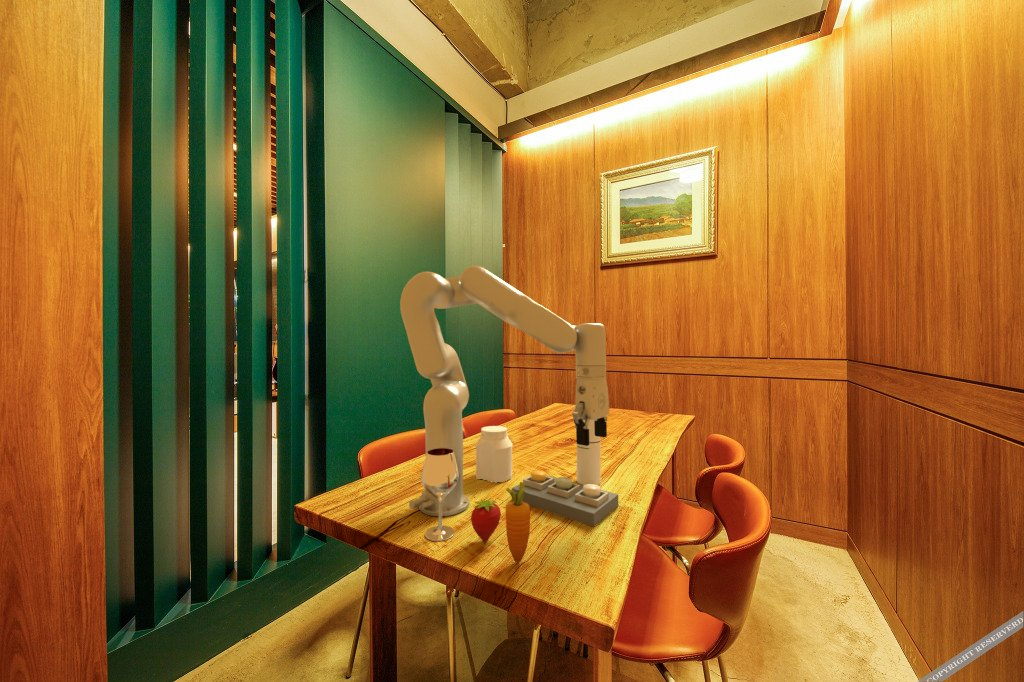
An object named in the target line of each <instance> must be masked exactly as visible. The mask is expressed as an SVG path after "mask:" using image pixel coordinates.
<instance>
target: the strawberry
mask: <svg viewBox="0 0 1024 682" xmlns="http://www.w3.org/2000/svg"><path fill="white" fill-rule="evenodd" d="M489 496H490V495H489V494H488V495H487V496H486V497H485V498H484V500H482V499H481V500H480V501H474V503H476V504H478V505H475V506H474V509H473V510H472V512H471V516H470V521H471V525H472V528H473V530H474V532H475V533H476V535H477V536H478V537H479V538H480V539H481V541H482V542H483V543H487V542H488V541H489V540H490V538H491V536H492V535H493V534H494V533H495V530H496V529H497V528H498V526H499V524H500V520H501V516H502V513H501V512H502V511H501V508H500V506H499V505H498V504H496V503H497V501H496V500H495V501H493V500H491V498H488V497H489ZM487 498H488V499H487ZM486 499H487V500H486Z"/></svg>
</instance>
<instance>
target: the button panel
mask: <svg viewBox="0 0 1024 682" xmlns="http://www.w3.org/2000/svg"><path fill="white" fill-rule="evenodd" d="M556 478H557V477H555V476H550V475H547V474H546V480H545V481H543V482H536V481H533V480H531V475H530V476H528V477H526V478H523V479H522V482H523V483H524V489H525V492H524V494H523V498H522V501H523V502H525V503H527V504H528V505H529V507H533V508H536V507H537V509H539V508H540V510H542V511H545V512H548V513H550V514H554V515H556V516H560V517H563V518H566V519H569V520H571V521H572V520H573V521H575V522H579V523H581V524H585V525H587V526H589V527H593V528H594V527H595V525H596V524H600V523H601V521H603V520H604V519H605V518H606V517H607V516H608V515H610V514H611V513H612V512H613V511H614V510H615V509H617V508H618V507H619V494H617V493H614V492H610V491H607V490H603V489H600V496H598V497H589V496H586V495H584V494H583V486H584V485H582V484H580V483H578V482H573V481H572V487H571V488H569V489H561V488H558V487H556ZM519 486H520V483H519V484H518V485H515V486H513V487H511V490H513V491H514V493H517V498H518V494H519ZM616 507H617V508H616ZM612 510H613V511H612ZM611 511H612V512H611ZM610 512H611V513H610ZM609 513H610V514H609ZM604 517H605V518H604ZM603 518H604V519H603ZM602 519H603V520H602ZM596 526H597V525H596Z"/></svg>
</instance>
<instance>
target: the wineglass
mask: <svg viewBox="0 0 1024 682" xmlns="http://www.w3.org/2000/svg"><path fill="white" fill-rule="evenodd" d="M420 477H421V478H420V482H421V485H422V486H423V488H424V490H425V489H426V490H427V491H428V492H429V493H430V494H431V495H433V496H434V497H435V498H436V499H437V500H438V516H437V519H438V521H437V522H438V523H437V525H435V526H432V527H430V528H428V529H427V530H425V533H424V537H425V538H426V539H427V540H428V541H431V542H444V541H446V540H449V539H451V538H452V537H453V536H454V535H455V529H454V528H453V527H451V526H449V525H443V516H442V501H443V499H444V498H445V496H447V495H448V494H449V493H450V492H451V491H452V490H453V489H454V488H455V486H456V485H457V483H458V480H459V471H458V466H457V462H456V458H455V455H454V451H453V450H452V449H448V448H437V449H432V450H429V451H428V452H427V455H426V454H425V458H424V463H423V467H422V471H421V475H420Z"/></svg>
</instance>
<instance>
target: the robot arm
mask: <svg viewBox="0 0 1024 682" xmlns="http://www.w3.org/2000/svg"><path fill="white" fill-rule="evenodd" d="M399 303H400V304H399V305H400V307H399V308H400V314H401V317H402V318H401V319H402V322H403V325H404V328H405V331H406V337H407V339H408V340H407V341H408V343H409V346H410V350H411V353H412V357H413V360H414V364H415V368H416V370H417V372H418V373H419V374H420V376H421V377H423V378H425V379H428V380H430V382H431V385H432V387H431V388H430V389H428V391H427V393H426V394H425V395H424V396H425V397H424V400H423V418H424V428H425V432H424V433H425V434H424V435H425V456H426V455H427V452H428V451H429V450H432V449H437V448H448V449H452V450H453V451H454V455H455V458H456V462H457V466H458V471H459V480H458V483H457V485H456V486H455V488H454V489H453V490H452V491H451V492H450V493H449V494H448V495H447V496H445V498H444V499H443V501H442V517H448V516H454V515H457V514H460V513H462V512H464V511H465V510H467V509H468V507H469V505H470V499H469V497H468V496H467V495H466V494H464V488H463V487H464V427H463V425H464V424H463V411H464V409H465V408H466V407H467V406H468V405H467V404H468V403H469V398H470V392H469V388H468V385H467V381H466V377H465V374H464V371H463V368H462V364H461V362H460V359H459V356H458V353H457V352H456V350H455V349H454V348H453V346H451V345H449V344H448V343H445V340H444V337H443V334H442V330H441V325H440V324H439V321H438V319H437V316H436V313H435V309H437V310H438V309H439V310H440V309H441V310H444V309H450V308H457V307H462V306H469V305H475V304H478V305H479V306H481V307H482V308H484V309H485V310H486V311H488V312H490V313H491V314H493V315H494V316H496V317H497V318H499V319H501V320H502V321H503V322H504V323H506V324H507V325H510V326H512V327H514V328H517V329H519V330H520V331H522V332H523V333H525V334H527V335H528V336H531V338H533V339H535V340H536V341H537V342H539V343H540V344H542V345H544V346H545V347H546V348H548V349H549V350H550V351H552V352H554V353H557V354H566V353H569V352H573V351H574V352H575V353H574V354H575V356H574V357H575V379H576V382H575V383H576V385H575V399H574V401H575V403H574V404H575V405H574V406H575V407H574V410H573V411H572V412H571V413H572V418H573V424H574V428H575V429H576V430H575V431H576V433H575V434H576V435H575V437H576V438H575V439H576V445H577V444H579V445H585V446H588V445H589V429H587V428H588V424H589V421H590V418H591V420H595V421H594V427H595V436H599V437H601V438H606V437H608V434H607V432H608V431H607V429H608V426H607V421H608V417H607V416H608V415H609V414H610V401H609V399H610V398H609V389H608V388H609V387H608V381H607V351H606V350H607V348H606V344H607V343H606V342H607V341H606V327H605V325H604V324H602V323H595V322H594V323H593V322H592V323H591V322H589V323H585V322H584V323H580V324H577V325H571V323H570V322H568V321H566V320H565V319H563V318H562V317H560V316H559V315H557V314H555V313H554V312H552V311H551V310H549V309H548V308H545V307H544V306H543V305H541V304H539V303H538V302H536V301H535V300H533V299H532V298H530V297H529V296H527V295H526V294H524V293H523V292H521V291H519V290H518V289H516V288H515V287H514V286H512V285H510V284H509V283H507V282H505V281H504V280H503V279H502V278H499V276H497V275H495V274H493V273H492V272H491V271H489V270H488V269H486V268H485V267H483V266H480V265H470V266H468V267H465V269H464V270H462V271H461V273H460V275H458V276H453V277H446V278H444V277H443V276H441V275H440V274H439V273H436V272H432V271H428V270H427V271H421V272H419V273H417V274H415V275H414V276H412V277H411V278H410V279H409V280H408V281H407V283H406V284H405V285H404V287H403V290H402V292H401V296H400V302H399ZM583 420H585V422H583ZM596 420H597V421H596ZM408 507H409V508H410V510H414V509H417V508H419V510H420V512H421V513H423V514H425V515H428V516H433V517H438V500H437V499H436V498H435V497H434V496H433V495H431V494H430V493H429V492H428V491H427V490H426V489H425V488H424V490H422V491H421V495H420V496H419V498H415V499H413V500H411V501H409V502H408Z"/></svg>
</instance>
